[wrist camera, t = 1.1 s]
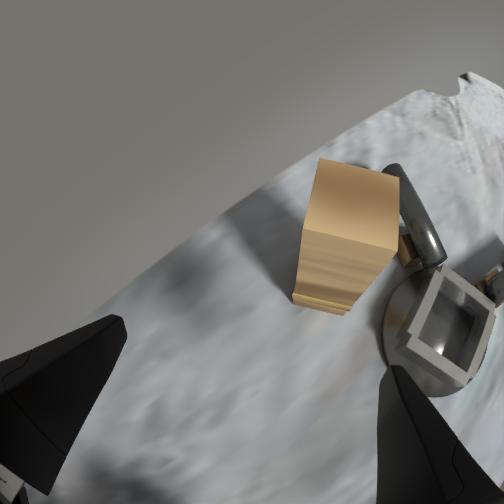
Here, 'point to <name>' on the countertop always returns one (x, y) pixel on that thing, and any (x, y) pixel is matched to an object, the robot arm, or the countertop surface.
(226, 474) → the countertop surface
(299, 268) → the block
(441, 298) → the grey round socket base
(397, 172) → the shaft
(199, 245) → the countertop surface
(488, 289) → the shaft
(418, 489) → the robot arm
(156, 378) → the countertop surface
